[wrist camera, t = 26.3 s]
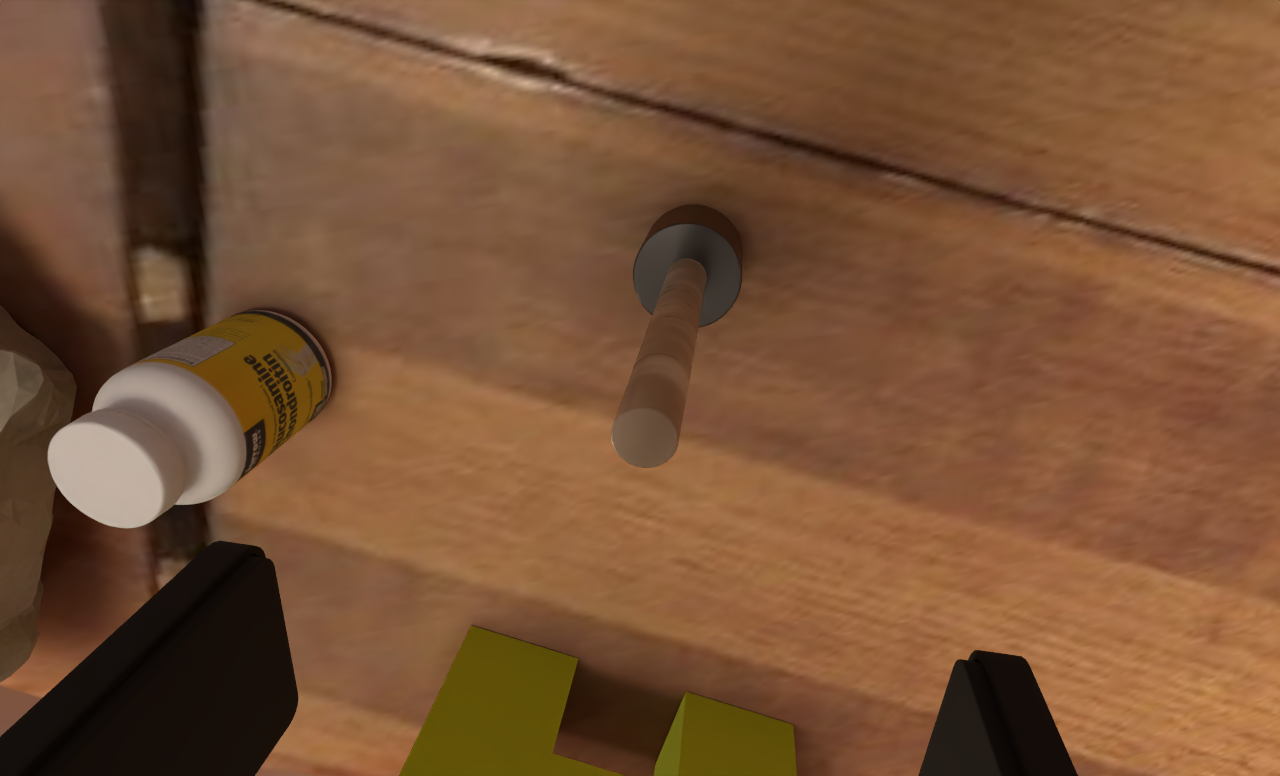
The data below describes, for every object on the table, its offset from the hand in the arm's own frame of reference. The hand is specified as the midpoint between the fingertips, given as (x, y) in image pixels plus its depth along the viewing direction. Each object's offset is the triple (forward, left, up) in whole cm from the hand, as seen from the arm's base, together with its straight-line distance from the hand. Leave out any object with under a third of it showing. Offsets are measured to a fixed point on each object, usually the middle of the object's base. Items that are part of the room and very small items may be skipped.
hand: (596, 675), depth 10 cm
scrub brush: (0, 0, -26) cm, 26 cm away
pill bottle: (+21, +8, -26) cm, 35 cm away
